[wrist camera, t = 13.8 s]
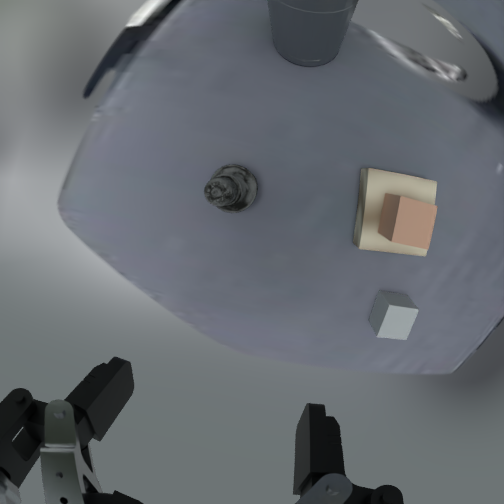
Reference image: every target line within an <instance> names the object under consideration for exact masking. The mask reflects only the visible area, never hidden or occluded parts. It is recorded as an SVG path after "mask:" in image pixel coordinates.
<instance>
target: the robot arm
mask: <svg viewBox="0 0 504 504" xmlns="http://www.w3.org/2000/svg"><path fill="white" fill-rule="evenodd" d="M267 1H268V7H269V13H270V20H271V26H272V33H273V40H274V45H275V47H276V49H277V51H278V52H279V53H280V54H281V55H282V56H283V57H284V58H285V59H287V60H288V61H290V62H292V63H295V64H297V65H301V66H310V67H311V66H320V65H323V64H326V63H328V62H330V61H331V60H332V59H334V57H335V56H336V55H337V53H338V51H339V48H340V46H341V43H342V41H343V39H344V36H345V34H346V31H347V28H348V26H349V23H350V21H351V18H352V15H353V13H354V10H355V8H356V5H357V2H358V0H267ZM133 390H134V380H133V374H132V367H131V363H130V362H129V361H126V360H124V359H121V358H118V357H113V358H112V359H111V360H110V361H109V363H108V364H105V363H102V364H100V365H98V366H96V367H94V368H93V369H92V371H91V372H90V373H89V374H88V375H87V376H86V377H85V378H84V380H83V381H81V382H80V384H79V385H78V386H77V387H76V388H75V389H74V390H73V391H72V392H71V393H70V394H69V395H68V397H67V398H66V399H65V400H53V401H51V402H50V403H45V402H42V401H38V400H35V399H33V397H32V395H31V393H30V392H29V391H28V390H26V389H23V388H18V389H14V390H13V391H11V392H10V393H9V394H8V396H7V397H6V398H5V399H4V400H3V401H2V402H1V403H0V504H20V503H21V498H20V492H19V490H18V489H19V487H20V485H21V484H22V482H23V481H24V479H25V477H26V476H27V474H28V473H29V471H30V470H31V468H32V467H33V465H34V464H35V462H36V461H37V459H38V458H39V456H40V458H41V471H42V481H43V488H44V495H45V501H46V504H143V503H141V502H140V501H139V500H136V499H133V498H131V497H129V496H127V495H124V494H122V493H120V492H118V491H116V490H115V491H114V493H113V494H108V493H103V491H102V488H101V486H100V483H99V481H98V479H97V476H96V472H95V468H94V463H93V459H92V453H91V448H90V443H89V442H90V440H91V439H92V438H94V439H96V440H98V441H101V440H102V438H103V437H104V435H105V434H106V432H107V431H108V429H109V428H110V426H111V425H112V423H113V422H114V420H115V419H116V417H117V416H118V414H119V413H120V412H121V410H122V409H123V407H124V406H125V404H126V403H127V401H128V400H129V398H130V397H131V395H132V393H133ZM22 427H23V429H22V430H21V431H20V433H19V434H18V435H17V437H16V438H15V439H14V440H13V438H14V437H15V436H16V434H17V433H18V432H19V430H20V429H21V428H22ZM340 435H341V434H340V426H339V424H338V423H337V421H336V419H335V418H334V417H331V416H326V412H325V406H324V405H322V404H311V403H307V404H306V406H305V409H304V411H303V413H302V416H301V418H300V420H299V423H298V425H297V430H296V441H295V468H294V487H293V494H295V495H300V499H299V500H298V501H297V502H296V503H295V504H404V503H403V496H402V493H401V491H400V490H399V489H398V488H397V487H395V486H392V485H383V486H380V487H378V488H377V489H369V488H365V487H360V486H357V485H354V484H353V483H351V481H350V480H349V479H348V478H347V477H346V475H345V470H344V461H343V451H342V445H341V443H342V442H341V437H340ZM12 440H13V442H12Z"/></svg>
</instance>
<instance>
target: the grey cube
mask: <svg viewBox="0 0 504 504" xmlns="http://www.w3.org/2000/svg"><path fill="white" fill-rule="evenodd" d="M418 311H419V309H418V308H417V306H416V305H415V304H414V303H413V302H412V301H411V299H410V298H409V297H408V296H407V295H403V294H397V293H392V292H386V291H380V290H379V292H378V295H377V298H376V301H375V304H374V306H373V309H372V312H371V315H370V317H369V322H370V324H371V326H372V328H373V330H374V332H375V334H376V336H377V337H383V338H392V339H401V340H406V339H407V337H408V335H409V332H410V330H411V328H412V325H413V323H414V321H415V318H416V316H417V313H418Z"/></svg>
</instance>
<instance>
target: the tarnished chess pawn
mask: <svg viewBox="0 0 504 504" xmlns="http://www.w3.org/2000/svg"><path fill="white" fill-rule="evenodd" d="M257 190H258V187H257V181H256V179H255V177H254V176H253V174H252V173H251V172H249V171H248V170H247V169H246V168H244V167H242V166H239V165H226V166H224V167H221V168H220V169H218V170H217V171H216V172H215V173H214V174H213V176H212V178H211V180H210V181H209V182H208V183H207V184H206V187H205V190H204V193H205V197H206V199H207V201H208V202H209V203H210V204H212V205H214V206H217V207H218V208H219V209H221V210H223V211H224V212H229V213H237V212H241V211H243V210H245V209H246V208H248V207H249V206H250V205H251V204H252V203H253V201H254V199H255V197H256V194H257Z"/></svg>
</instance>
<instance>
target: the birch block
mask: <svg viewBox="0 0 504 504" xmlns="http://www.w3.org/2000/svg"><path fill="white" fill-rule="evenodd" d="M436 187H437V182H436V181H432V180H427V179H423V178H418V177H414V176H409V175H404V174H399V173H394V172H389V171H383V170H378V169H372V168H362V169H361V177H360V188H359V198H358V207H357V216H356V224H355V231H354V238H353V243H354V244H355V245H356V246H357V247H358V248H359V249H364V250H373V251H382V252H392V253H401V254H409V255H418V256H426V254H427V249H423V248H418V247H413V246H408V245H404V244H399V243H394V242H391V241H389V240H388V239H386V238H385V237H383V236H382V235H380V234H379V233H378V228H379V223H380V218H381V213H382V208H383V202H384V197H385V193H388V194H393V195H398V196H403V197H406V198H410V199H414V200H417V201H421V202H424V203H428V204H431V205H435V197H436Z"/></svg>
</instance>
